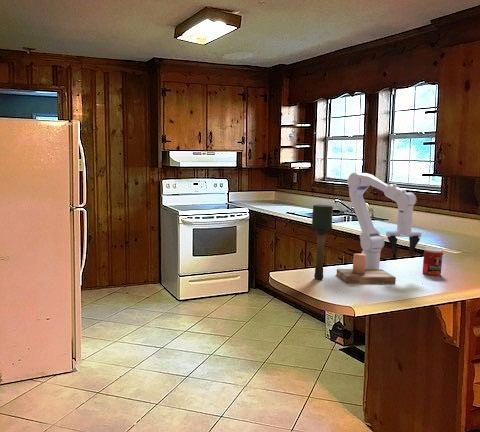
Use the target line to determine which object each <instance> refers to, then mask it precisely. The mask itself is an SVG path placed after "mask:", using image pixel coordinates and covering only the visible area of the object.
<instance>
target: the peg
mask: <svg viewBox="0 0 480 432" xmlns="http://www.w3.org/2000/svg"><path fill="white" fill-rule="evenodd" d="M365 266H366V255H365V254H361V253H357V252H356V253H353V259H352V269H353V272H352V273H354V274H365Z"/></svg>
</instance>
